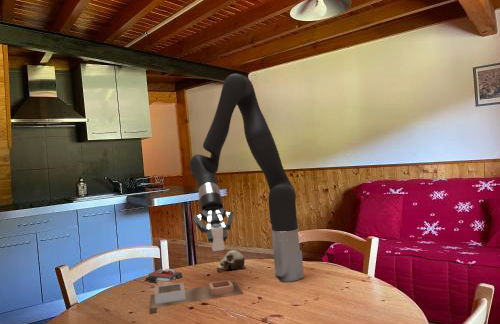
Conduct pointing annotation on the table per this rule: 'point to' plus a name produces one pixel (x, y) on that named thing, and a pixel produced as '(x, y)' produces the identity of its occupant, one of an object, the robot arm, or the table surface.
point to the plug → (217, 237)
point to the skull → (232, 262)
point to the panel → (195, 296)
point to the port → (169, 293)
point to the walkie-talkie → (164, 275)
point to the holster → (221, 287)
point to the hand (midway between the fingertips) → (218, 240)
